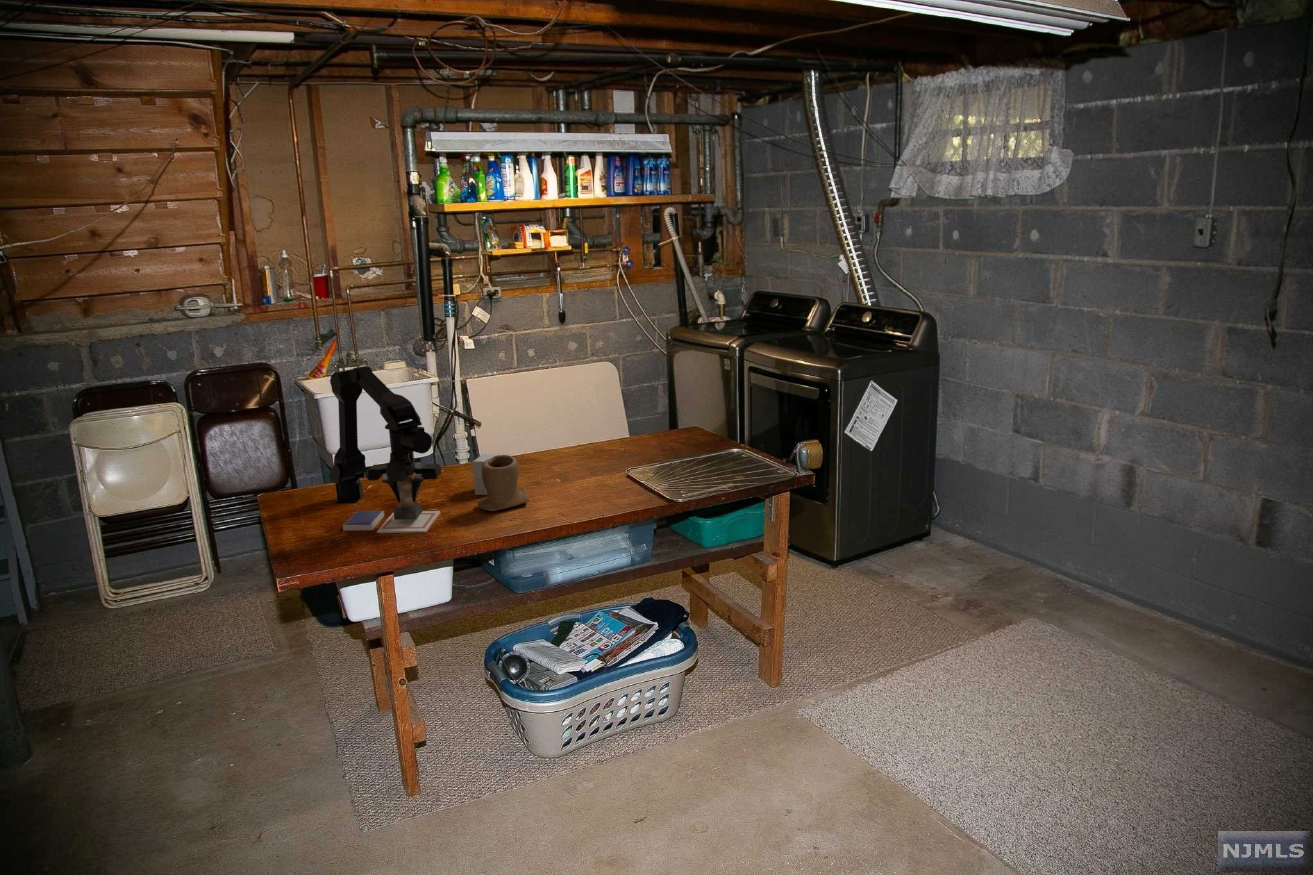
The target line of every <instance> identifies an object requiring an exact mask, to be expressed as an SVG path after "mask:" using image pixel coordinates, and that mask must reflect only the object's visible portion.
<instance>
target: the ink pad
mask: <svg viewBox="0 0 1313 875" xmlns="http://www.w3.org/2000/svg"><path fill="white" fill-rule="evenodd" d="M384 517H385V511H384V510H357V511H355V513H354V514H352V516H351V517H349V519H348V520H347V521H346V522H344V524H343V525H342V529H343V531H345V532H346V531H349V532H350V531H372V530H373V529H374V528H375V527H376V526H377V525H378V524H379V522H380V521H381V520H382V519H383V518H384Z"/></svg>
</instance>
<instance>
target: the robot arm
mask: <svg viewBox="0 0 1313 875" xmlns="http://www.w3.org/2000/svg"><path fill="white" fill-rule="evenodd" d="M329 382H330V386H331V392H332V393H333V395H334V396H335V398H336V399H337V402H338V404H337V405H338V431H339V432H338V433H339V448H338V449H337V451H336V453H335V455H334V457H333V465H332V467H331V469H330V471H329V473H328V477H329V481H330V482H331V483H334V484H335V491H336V499H335V500H334V502H335V503H337V504H338V503H340V504H341V503H358V502H359V501H360V500H361V499H362V498H363V497H364V495H365V494H364V490H363V483H362V482H361V479H363V478H365V473H366V480H367V481H379V480H380V479H381V478H382V480H381V481H382V483H383V484H387V485H389V486H388V487H390V488H391V490H392V493H393V494H394V496H395V498H396V500H397V502H398V503H399V504H400V494H399V488H398V486H397V481H400V482H402V481H405V480H406V478H407V476H412V477H413V478H412V481H411V482H412V494H413V502H414V503H416V501H417V498H418V494H419V491H420V488H421V484H422V483H423V482H424V481H425V480H438V478H439V477H440V475H441V474H442V466H441V465H440V464H439V463H425V465H424V466H423V467H416V465H417V463H416V461H415V455H414V453H418V454H422V455H423V454H426V453H428V451H429V450H431V448H432V445H433V438H432V436H431V435H430V433H428V432H427V431H425V427H423V426H422V425H423V423H422V421H421V417H420V416H419V414H418V412H417V411H416V409H415V406H414V405H413V403H412V402H411V401H410V400H409V399H408V398H406V397H405V396H404V395H401V394H397V393H395V392H393V391H392V390H391V389H390V388H389V387H387V386H386V384H385V383H384V382H383V381H382V380H381V379H380V378H379V377H378V376H377V375H376V374H375V373H374V372H373V369H372V368H371V367H370V366H367V365H363V366H358V367H353V368H352V369H351V368H350V369H345V370H339V371H334V372H333V373H332V374H331V375H330V380H329ZM363 390H364V392H365V393H366V394H367V395H368V396H369V397H370V398H371V399H372V401H374V402H375V403H376V404H377V405H378V407H379V414H380V415H381V416H382V418H383V419H384V421H385V422H386V423H387V424H385V426H384V429H385V430H388V434H389V443H390V444H389V445H390V452H389V462H388V464H385V463H384V464H373V465H372V466H371V467H370V468H369V469H368V470H367V471H366V467H367V466H366V456H365V454H363V453H362V451H361V450H360V449H359V445H358V444H359V443H358V442H359V441H358V440H359V438H358V399H359V398H360V396H361V395H362V393H363Z"/></svg>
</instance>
